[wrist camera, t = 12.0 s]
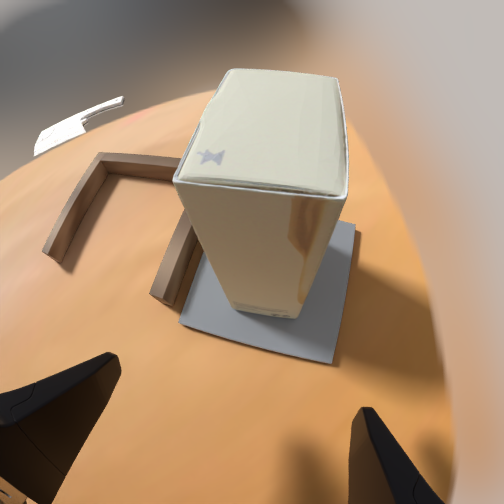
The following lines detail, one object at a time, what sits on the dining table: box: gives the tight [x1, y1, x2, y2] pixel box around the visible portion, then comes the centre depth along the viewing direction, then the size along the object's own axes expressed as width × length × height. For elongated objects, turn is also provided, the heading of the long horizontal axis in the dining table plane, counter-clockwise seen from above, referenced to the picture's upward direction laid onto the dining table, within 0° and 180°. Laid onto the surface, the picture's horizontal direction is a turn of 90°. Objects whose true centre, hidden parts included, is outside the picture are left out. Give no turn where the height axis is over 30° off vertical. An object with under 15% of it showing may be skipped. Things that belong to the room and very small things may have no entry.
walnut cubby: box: [42, 152, 198, 306], centre depth 20 cm, size 11×13×2 cm
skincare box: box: [172, 68, 349, 319], centre depth 13 cm, size 6×4×12 cm
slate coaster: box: [178, 220, 356, 364], centre depth 18 cm, size 10×10×1 cm
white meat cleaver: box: [34, 96, 125, 157], centre depth 29 cm, size 5×15×1 cm, turn 99°
